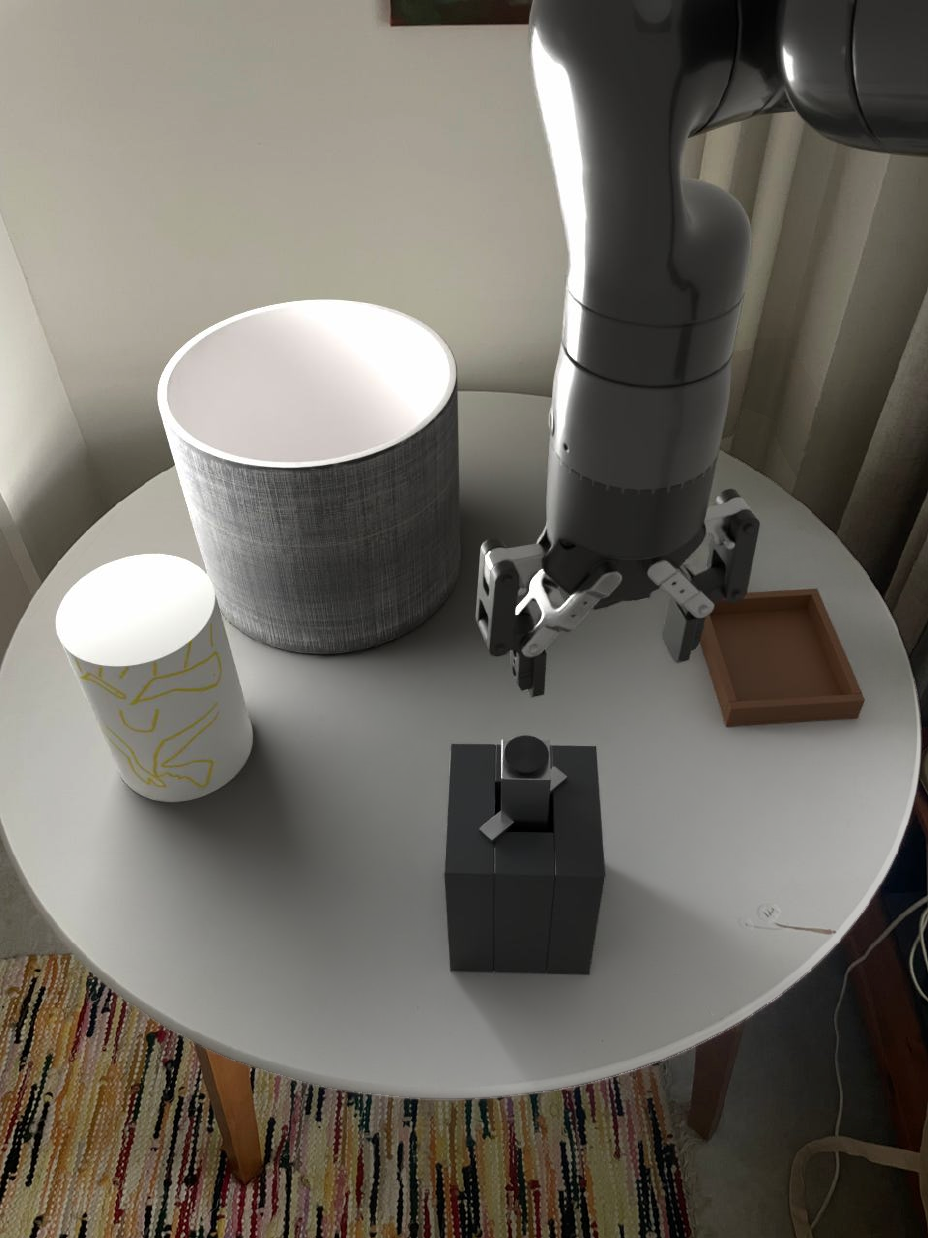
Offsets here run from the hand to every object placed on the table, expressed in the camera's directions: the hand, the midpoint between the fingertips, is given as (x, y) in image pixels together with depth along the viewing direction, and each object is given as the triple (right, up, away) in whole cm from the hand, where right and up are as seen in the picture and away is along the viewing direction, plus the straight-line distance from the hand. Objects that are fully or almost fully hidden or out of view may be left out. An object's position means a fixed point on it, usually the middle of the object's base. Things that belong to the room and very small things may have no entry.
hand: (604, 667), depth 57 cm
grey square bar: (-4, -15, +16) cm, 23 cm away
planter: (-21, +8, +47) cm, 52 cm away
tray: (+20, -1, +36) cm, 41 cm away
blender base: (-4, -19, +20) cm, 28 cm away
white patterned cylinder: (-32, -8, +31) cm, 45 cm away
